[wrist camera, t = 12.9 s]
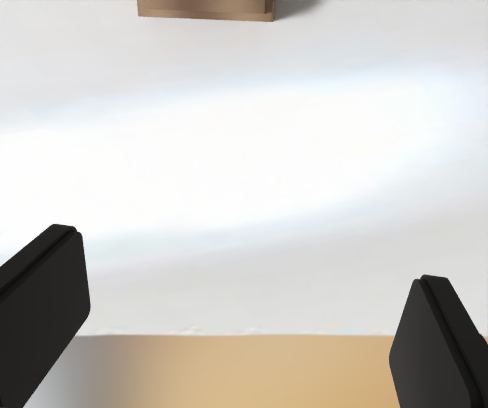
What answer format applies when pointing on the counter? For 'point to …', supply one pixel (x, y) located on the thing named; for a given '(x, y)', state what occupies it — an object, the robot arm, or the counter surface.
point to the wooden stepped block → (209, 9)
